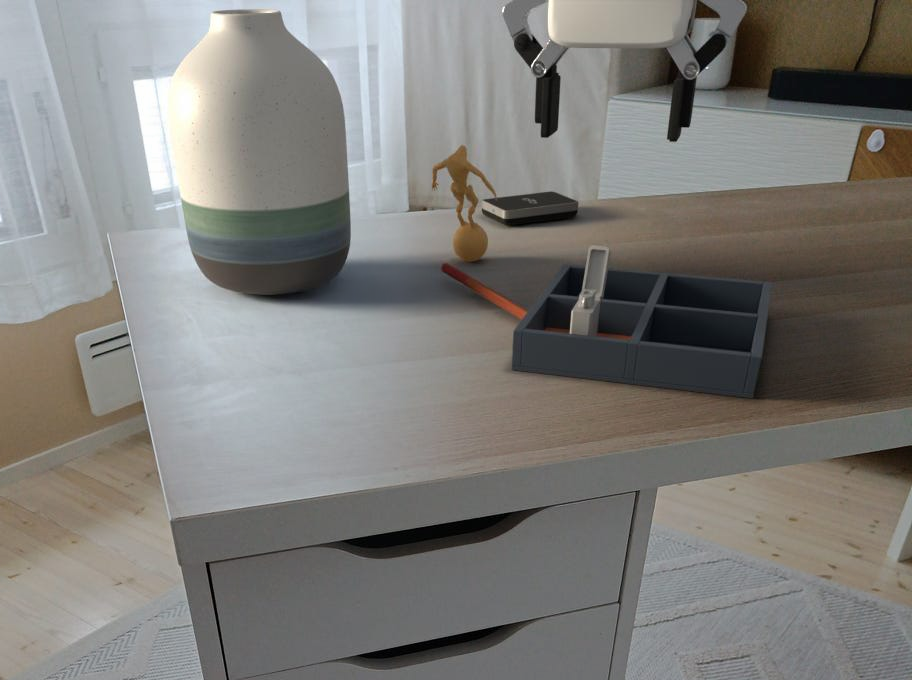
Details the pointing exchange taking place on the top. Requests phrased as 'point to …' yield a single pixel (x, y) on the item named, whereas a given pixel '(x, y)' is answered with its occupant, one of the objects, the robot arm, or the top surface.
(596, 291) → the lighter
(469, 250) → the figurine
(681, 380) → the grid
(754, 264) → the top surface
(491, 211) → the external hard drive
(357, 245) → the top surface
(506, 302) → the pencil
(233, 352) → the top surface
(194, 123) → the vase
